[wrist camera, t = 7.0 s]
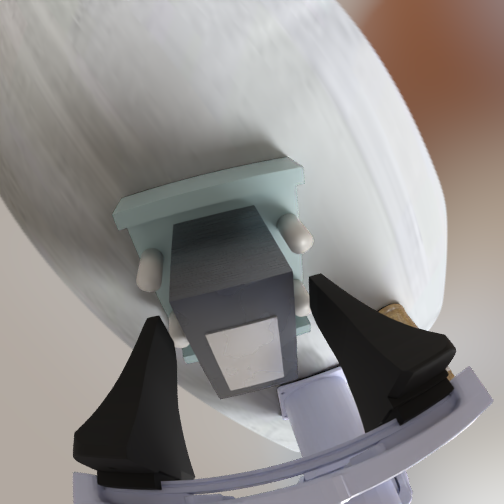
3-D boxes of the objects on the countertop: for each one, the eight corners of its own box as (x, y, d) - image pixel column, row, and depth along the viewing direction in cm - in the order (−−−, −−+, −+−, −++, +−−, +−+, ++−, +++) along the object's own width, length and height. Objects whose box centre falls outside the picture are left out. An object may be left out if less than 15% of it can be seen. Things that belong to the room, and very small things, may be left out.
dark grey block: (269, 307, 17) (298, 380, 12) (207, 322, 17) (220, 400, 12) (254, 204, 13) (293, 272, 8) (173, 224, 13) (169, 303, 8)
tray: (300, 311, 19) (314, 340, 17) (185, 341, 18) (187, 373, 16) (288, 156, 13) (310, 171, 11) (121, 198, 12) (107, 222, 10)
